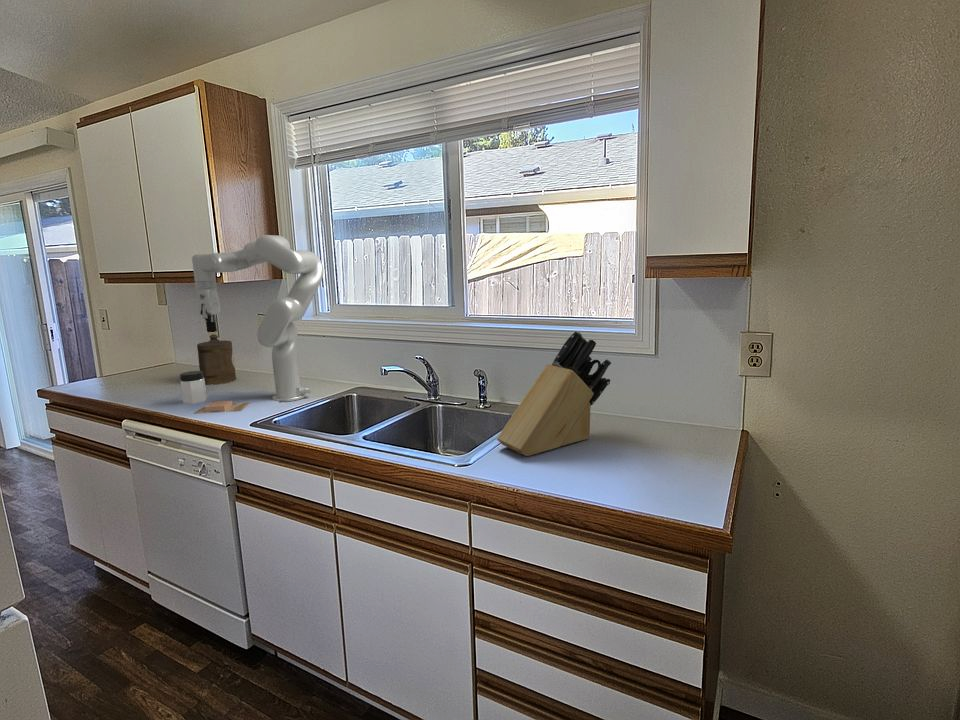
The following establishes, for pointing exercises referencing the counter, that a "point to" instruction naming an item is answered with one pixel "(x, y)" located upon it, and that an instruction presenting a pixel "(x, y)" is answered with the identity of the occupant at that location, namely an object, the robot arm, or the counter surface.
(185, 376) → the jar
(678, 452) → the counter surface
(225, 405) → the tile
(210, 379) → the wooden container
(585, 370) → the knife block
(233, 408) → the mat
